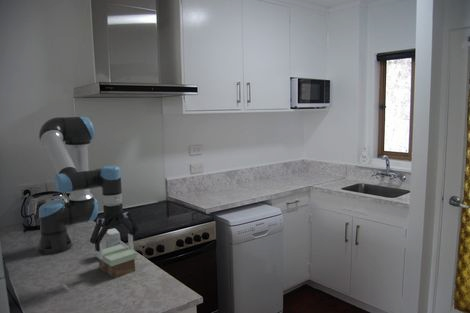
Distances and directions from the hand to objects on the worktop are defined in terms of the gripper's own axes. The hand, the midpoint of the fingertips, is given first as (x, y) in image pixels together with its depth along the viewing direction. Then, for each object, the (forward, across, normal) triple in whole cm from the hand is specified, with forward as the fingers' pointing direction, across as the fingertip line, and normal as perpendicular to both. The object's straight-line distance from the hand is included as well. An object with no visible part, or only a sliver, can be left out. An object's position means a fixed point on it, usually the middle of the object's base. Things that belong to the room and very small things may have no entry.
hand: (116, 253), depth 150 cm
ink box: (+8, +7, +17) cm, 20 cm away
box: (+8, 0, 0) cm, 8 cm away
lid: (+3, 0, 0) cm, 3 cm away
